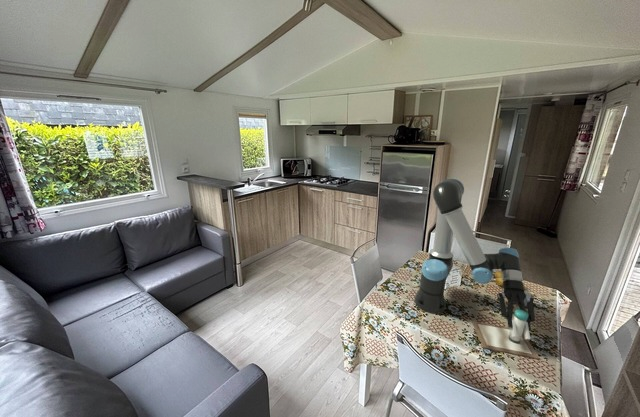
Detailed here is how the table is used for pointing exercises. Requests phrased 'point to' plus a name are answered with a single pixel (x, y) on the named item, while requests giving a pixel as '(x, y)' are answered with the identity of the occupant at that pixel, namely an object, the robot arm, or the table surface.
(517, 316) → the marker
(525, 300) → the ceramic mug
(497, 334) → the writing pad
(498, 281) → the bread roll
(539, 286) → the table surface
